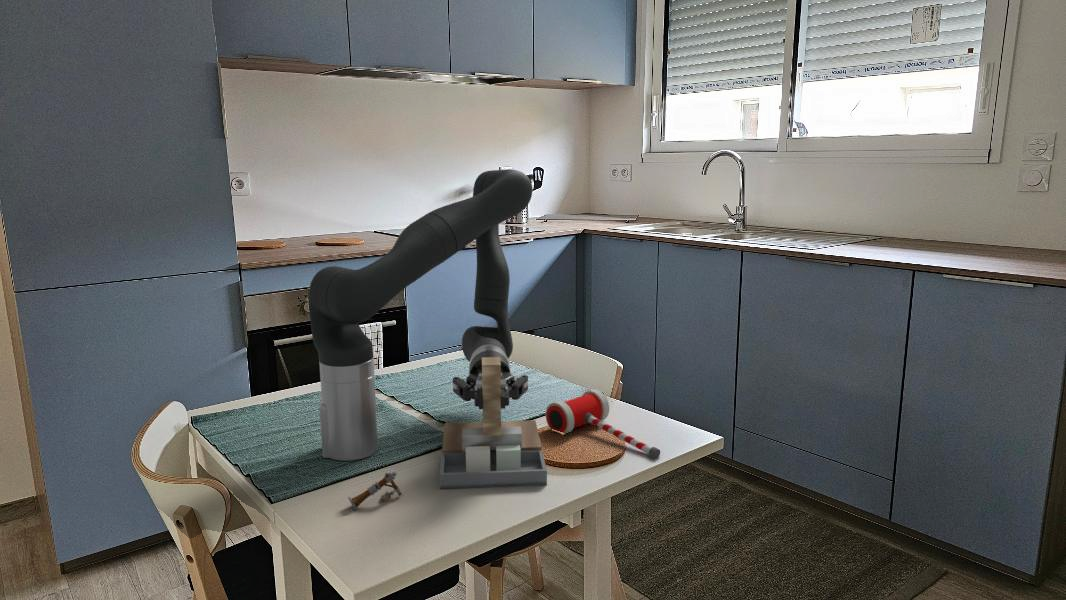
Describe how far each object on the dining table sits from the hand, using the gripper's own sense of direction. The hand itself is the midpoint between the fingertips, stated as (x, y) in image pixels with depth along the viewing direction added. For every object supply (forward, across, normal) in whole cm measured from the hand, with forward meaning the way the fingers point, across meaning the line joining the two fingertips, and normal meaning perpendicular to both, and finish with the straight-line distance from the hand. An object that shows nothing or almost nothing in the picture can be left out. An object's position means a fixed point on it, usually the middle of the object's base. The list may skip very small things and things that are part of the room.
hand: (492, 403), depth 116 cm
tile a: (-2, -2, +10) cm, 11 cm away
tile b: (-2, +3, +10) cm, 11 cm away
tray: (0, 0, +13) cm, 13 cm away
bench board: (-10, 0, +13) cm, 17 cm away
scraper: (-4, 0, +9) cm, 10 cm away
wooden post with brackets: (+7, -18, +13) cm, 24 cm away
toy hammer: (-16, +21, +14) cm, 29 cm away
